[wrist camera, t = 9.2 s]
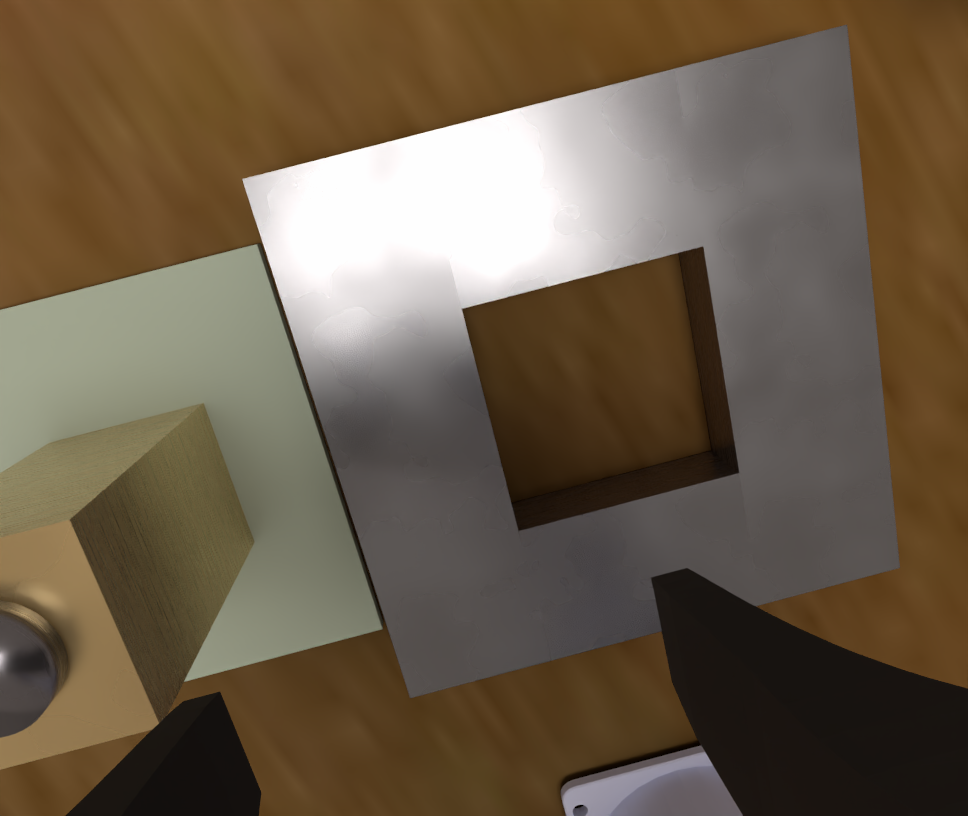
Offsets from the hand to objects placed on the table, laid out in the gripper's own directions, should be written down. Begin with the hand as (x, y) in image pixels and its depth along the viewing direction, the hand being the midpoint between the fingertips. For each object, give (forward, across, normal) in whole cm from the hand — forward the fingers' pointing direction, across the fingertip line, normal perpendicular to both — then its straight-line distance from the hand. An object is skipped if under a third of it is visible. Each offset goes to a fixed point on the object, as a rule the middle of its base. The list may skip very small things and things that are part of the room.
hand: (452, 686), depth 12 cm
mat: (+10, +8, -2) cm, 13 cm away
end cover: (+10, +8, -2) cm, 13 cm away
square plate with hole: (+10, -5, -2) cm, 12 cm away
